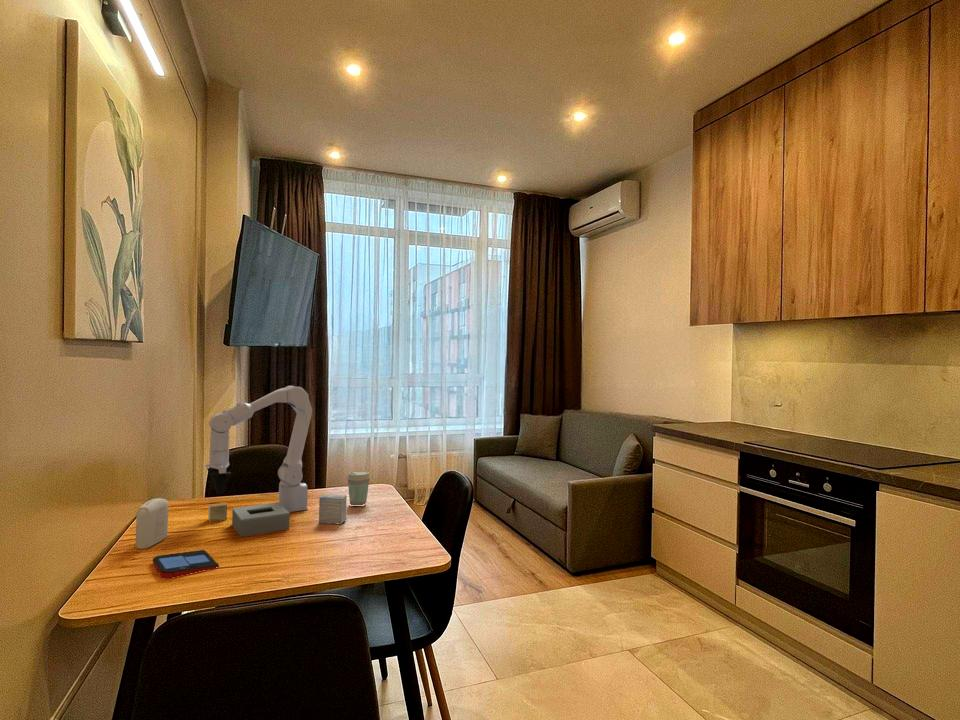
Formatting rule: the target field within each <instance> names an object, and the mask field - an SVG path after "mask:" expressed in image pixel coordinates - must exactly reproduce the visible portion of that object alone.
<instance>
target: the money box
mask: <svg viewBox="0 0 960 720" xmlns="http://www.w3.org/2000/svg"><path fill="white" fill-rule="evenodd" d="M231 512H232V514H231V515H232V516H231V525H232V527H233V528H234V529H235V531H236V532H237V534H238V536H239V537H240V538H244V537H251V536H255V535H261V534H263V535H264V534H268V533H275V532H274V531H276V532H280V530H282V531H286V530H285V529H288V530H290V515H291V514H290V513H291V512H288V511H287V510H286V509H285V508H284V507H283V506H281V505H280V504H279V502H271V503H270V502H269V503H265V504H256V505H249V506H241V507H235V508H232V511H231Z"/></svg>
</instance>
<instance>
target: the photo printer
mask: <svg viewBox="0 0 960 720" xmlns="http://www.w3.org/2000/svg"><path fill="white" fill-rule="evenodd" d="M135 520H136V521H135V523H136V524H135V543H134V545H135V548H136V549H140V550H141V549H142V550H143V549H147V548H150V547H153V546H154V545H156V544H159V543H160V542H161V541H163V540H166V538H167V537H168V534H169V533H168V532H169V531H168V529H169V528H168V527H169V502H168V500H167V499H165V498H159V497H158V498H153V499H149V500H148V501H146V502H145V503H143V504H142V505H141V506H140V507H139V508H138V509H137V512H136V519H135Z"/></svg>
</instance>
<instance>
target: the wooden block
mask: <svg viewBox="0 0 960 720" xmlns="http://www.w3.org/2000/svg"><path fill="white" fill-rule="evenodd" d="M208 519H209V520H208ZM208 519H207V520H208V521H210V522H209V523H212V522H211V521H215V522H220V521H219V520H222V521H227V520H228V504H227V503H226V502H219V503H212V504H208Z"/></svg>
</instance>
